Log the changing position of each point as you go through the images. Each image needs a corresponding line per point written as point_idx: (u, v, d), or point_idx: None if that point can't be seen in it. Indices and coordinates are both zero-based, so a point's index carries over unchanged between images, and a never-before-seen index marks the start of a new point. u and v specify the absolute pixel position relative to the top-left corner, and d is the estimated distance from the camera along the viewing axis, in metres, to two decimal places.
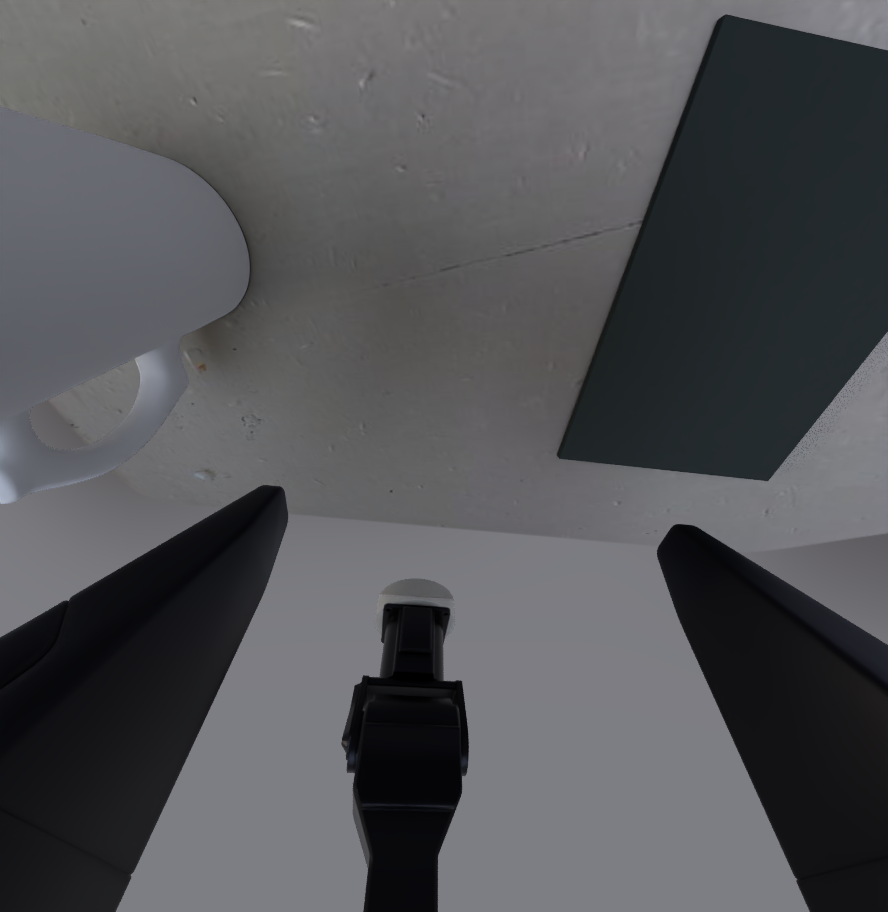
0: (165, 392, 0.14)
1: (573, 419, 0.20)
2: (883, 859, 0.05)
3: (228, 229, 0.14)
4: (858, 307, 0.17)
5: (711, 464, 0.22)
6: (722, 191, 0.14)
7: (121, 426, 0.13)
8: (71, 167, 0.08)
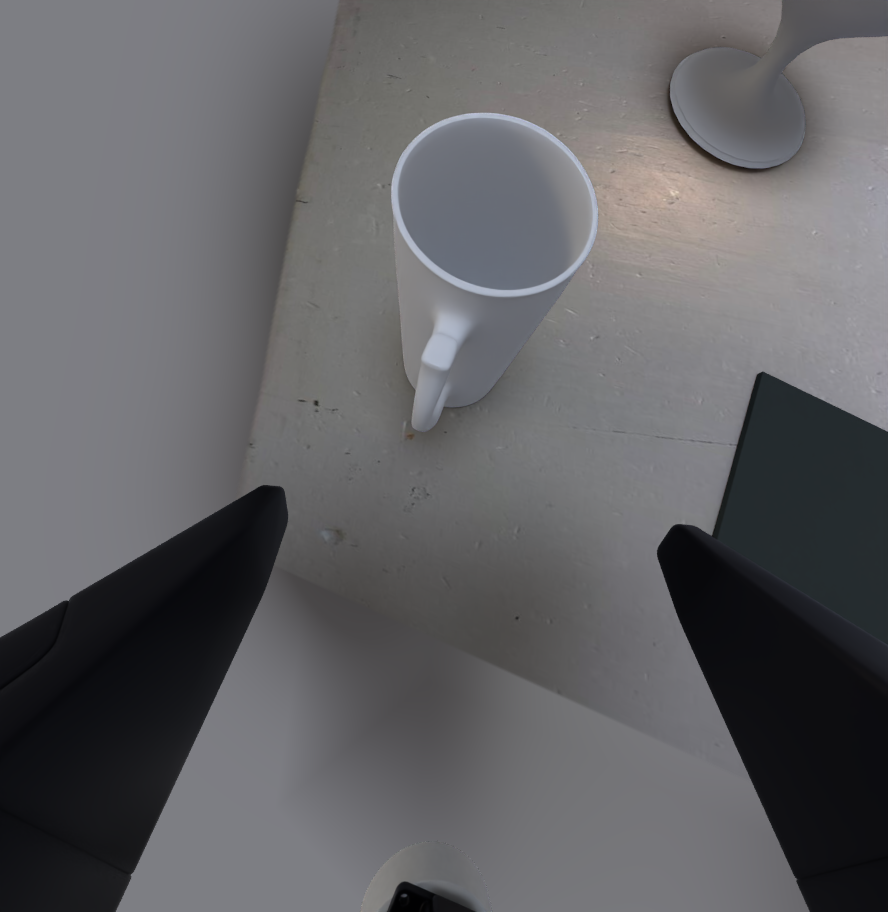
0: (437, 414, 0.17)
1: None
2: (883, 859, 0.05)
3: None
4: None
5: None
6: (781, 442, 0.24)
7: None
8: None
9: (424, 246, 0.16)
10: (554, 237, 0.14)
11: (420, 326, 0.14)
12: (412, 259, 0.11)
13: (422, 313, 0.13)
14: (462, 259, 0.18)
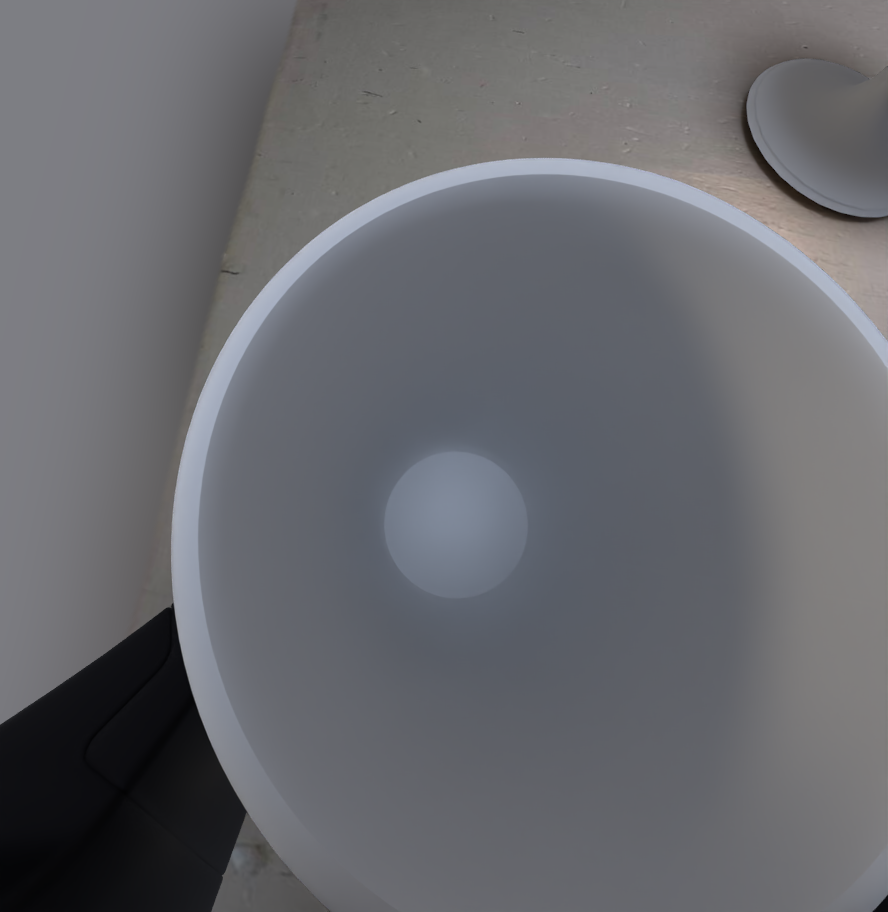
0: None
1: None
2: None
3: None
4: None
5: None
6: None
7: None
8: None
9: (391, 414, 0.08)
10: (697, 443, 0.06)
11: None
12: (264, 746, 0.03)
13: None
14: (468, 406, 0.10)
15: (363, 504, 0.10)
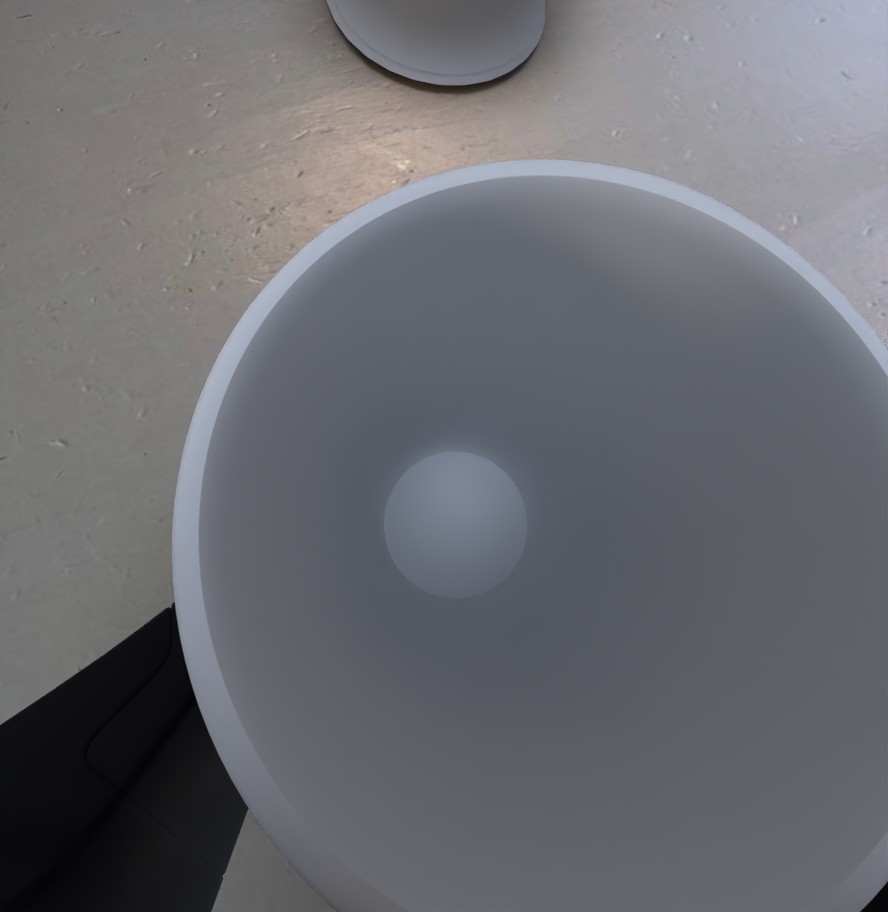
0: None
1: None
2: None
3: None
4: None
5: None
6: None
7: None
8: None
9: (390, 414, 0.08)
10: (694, 442, 0.06)
11: None
12: (263, 743, 0.03)
13: None
14: (468, 406, 0.10)
15: (363, 504, 0.10)
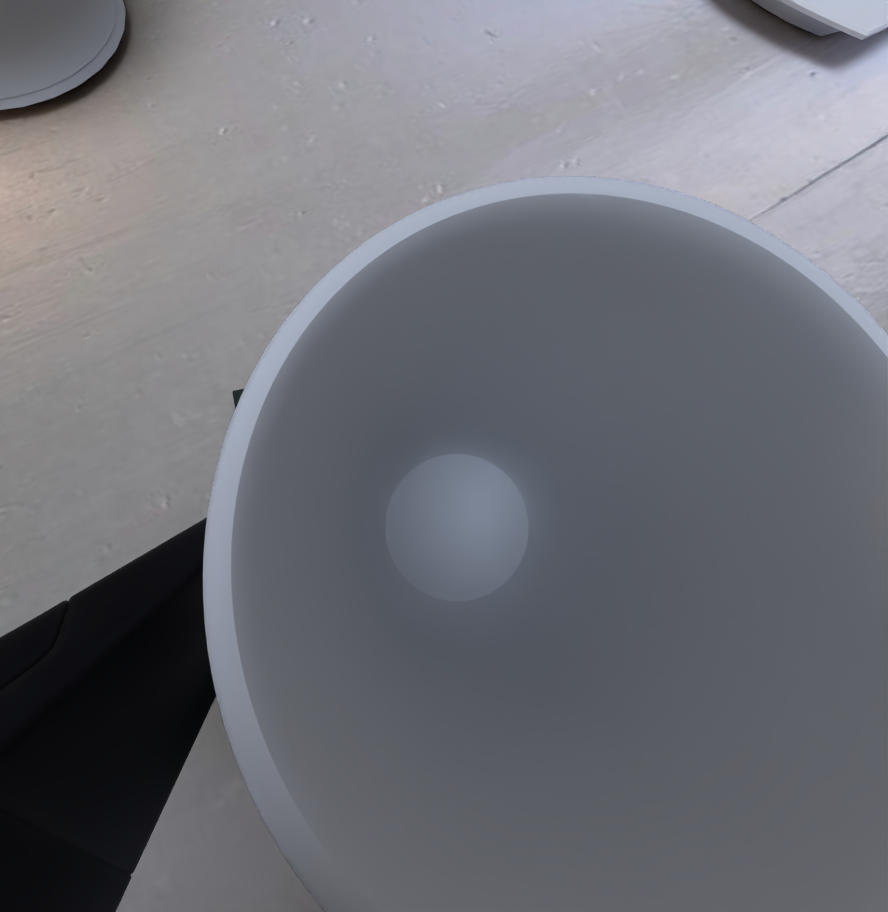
0: None
1: None
2: None
3: None
4: None
5: None
6: None
7: None
8: None
9: (396, 424, 0.08)
10: (709, 454, 0.06)
11: None
12: (306, 798, 0.03)
13: None
14: (471, 411, 0.10)
15: (367, 513, 0.09)
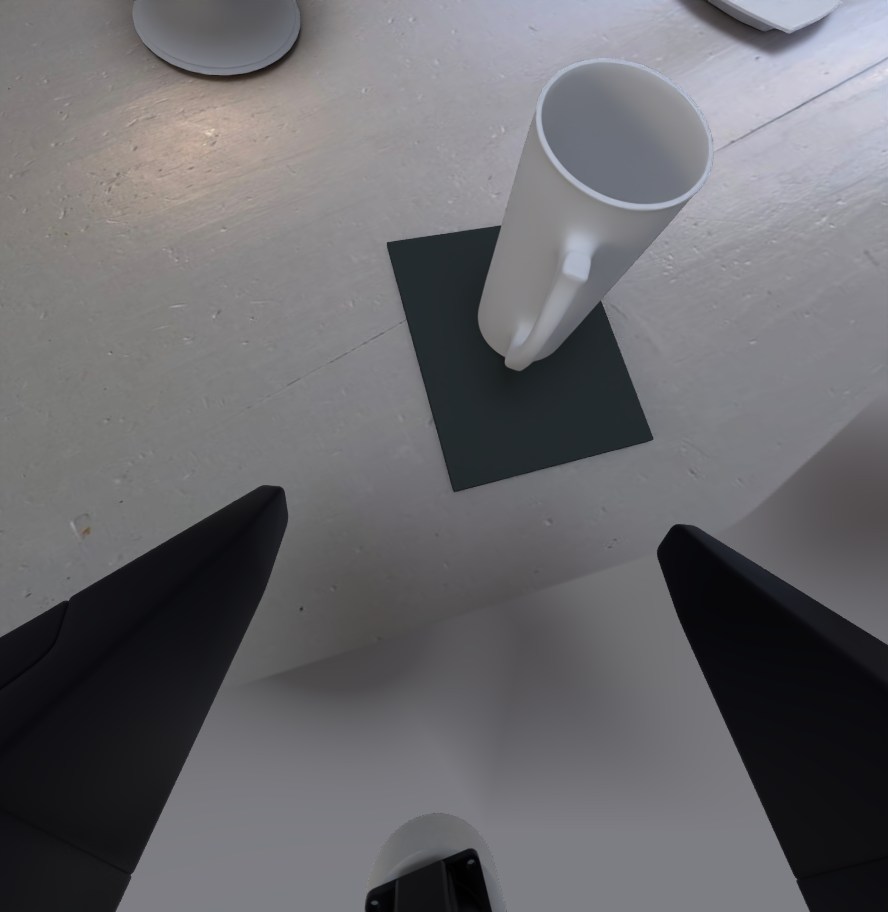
0: None
1: (443, 449, 0.22)
2: (883, 859, 0.05)
3: None
4: None
5: (590, 443, 0.23)
6: (438, 291, 0.24)
7: None
8: None
9: None
10: (654, 176, 0.15)
11: (534, 260, 0.15)
12: (555, 182, 0.12)
13: (543, 243, 0.14)
14: None
15: None
